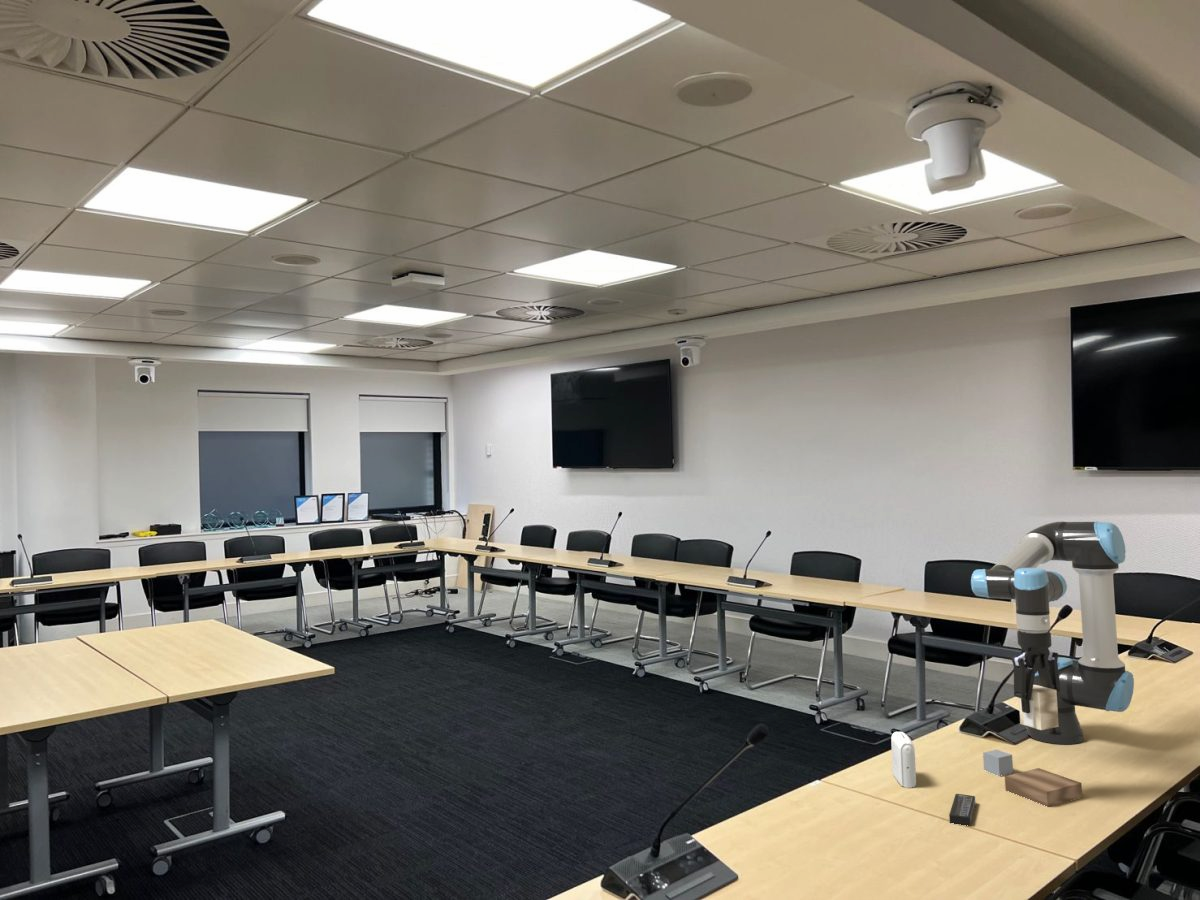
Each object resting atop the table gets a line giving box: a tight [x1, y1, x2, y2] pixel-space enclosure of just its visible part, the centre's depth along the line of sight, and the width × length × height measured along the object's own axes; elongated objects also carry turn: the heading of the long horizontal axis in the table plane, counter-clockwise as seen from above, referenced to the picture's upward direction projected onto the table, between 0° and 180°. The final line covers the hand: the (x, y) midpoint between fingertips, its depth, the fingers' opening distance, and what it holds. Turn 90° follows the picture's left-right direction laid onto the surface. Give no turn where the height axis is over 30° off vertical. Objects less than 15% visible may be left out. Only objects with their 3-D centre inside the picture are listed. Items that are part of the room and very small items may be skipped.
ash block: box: [1018, 685, 1059, 730], centre depth 206 cm, size 6×6×9 cm
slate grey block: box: [982, 749, 1014, 777], centre depth 221 cm, size 5×5×5 cm
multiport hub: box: [948, 793, 976, 827], centre depth 196 cm, size 4×14×2 cm, turn 151°
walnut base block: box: [1004, 767, 1083, 808], centre depth 205 cm, size 12×12×4 cm
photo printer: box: [890, 731, 917, 789], centre depth 218 cm, size 10×4×12 cm, turn 175°
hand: (1039, 723), depth 206 cm, fingers closed on ash block, 6 cm apart
